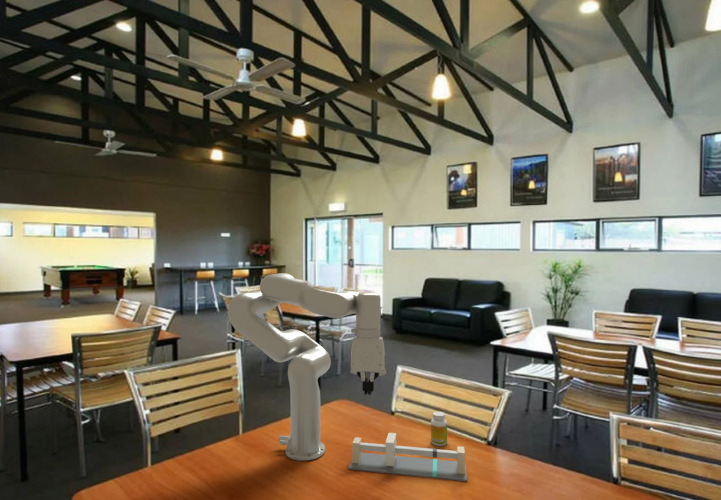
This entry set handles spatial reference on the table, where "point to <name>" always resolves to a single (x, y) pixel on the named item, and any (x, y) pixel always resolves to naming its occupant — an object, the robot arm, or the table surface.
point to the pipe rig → (410, 461)
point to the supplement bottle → (439, 429)
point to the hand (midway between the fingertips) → (368, 393)
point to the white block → (390, 449)
